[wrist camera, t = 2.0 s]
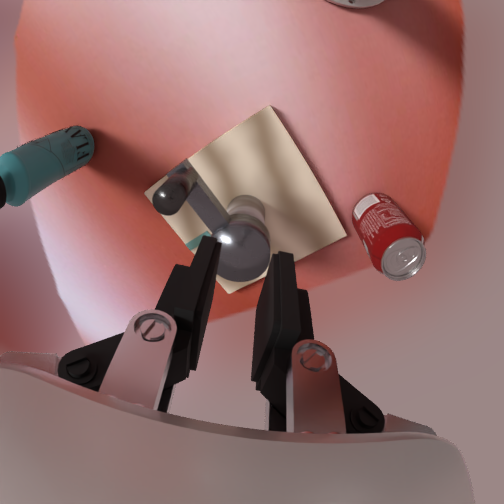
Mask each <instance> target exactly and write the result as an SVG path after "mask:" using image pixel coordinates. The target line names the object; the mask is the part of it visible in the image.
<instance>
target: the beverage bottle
mask: <svg viewBox="0 0 504 504" xmlns="http://www.w3.org/2000/svg"><path fill="white" fill-rule="evenodd" d="M49 134H50V133H49ZM44 136H45V137H42V138H40V139H37V140H34V141H33V140H31V141H29V142H30V143H27V144H26V143H25V144H24V145H21V146H20V147H18V148H17V149H15V150H12V151H10V152H7V153H5V154H3V155H2V156H1V157H0V208H2V207H3V206H4V205H5V203H7V204H9V205H11V206H20V205H22V204H23V203H25V201H27V200H28V199H30V198H31V197H33V196H34V195H36V194H37V193H39V192H40V191H42V190H43V189H45V188H46V187H48V186H49V185H51V184H52V183H54V182H56V181H57V180H59V179H61V178H63V177H65V176H66V175H68V174H70V173H72V172H73V171H76V170H77V169H79V168H81V167H82V166H84V165H86V164H87V163H89V160H90V159H91V157H92V155H93V152H94V140H93V137H92V135H91V134H90V132H89V131H88V130H87V129H86V128H84V127H81V126H78V125H77V126H73V127H69V128H67V129H65V128H64V130H63V129H62V130H59V131H56V132H53V134H52V133H51V134H50V135H48V134H47V135H44ZM82 168H83V167H82Z"/></svg>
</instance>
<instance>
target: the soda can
mask: <svg viewBox="0 0 504 504" xmlns="http://www.w3.org/2000/svg"><path fill="white" fill-rule="evenodd" d="M352 223H353V225H354V228H355V229H356V231H357V233H358V235H359V237H360V239H361V241H362V243H363V245H364V247H365V249H366V251H367V253H368V255H369V257H370V259H371V261H372V263H373V265H374V267H375V268H376V269H377V270H378V271H379V272H380V273H382V274H384V275H385V276H386V277H388V278H389V279H391V280H395V281H401V280H405V279H408V278H410V277H412V276H413V275H415V274H416V273H417V272H418V271H419V270H420V269H421V267H422V266H423V264H424V261H425V258H426V249H425V246H424V238H423V236H422V234H421V232H420V231H419V230H418V228H417V227H416V226H415V225H414V224H413V223H412V221H411V220H410V219H409V218H408V217H407V216H406V215H405V213H404V212H403V211H402V210H401V209H400V208H399V207H398V206H397V205H396V204H395V202H394V201H393V200H392V199H391V198H390V197H389V196H387V195H385V194H382V193H371V194H368V195H366V196H364V197H362V198H361V199H360V200H359V201H358V202H357V203H356V205H355V207H354V209H353V212H352Z"/></svg>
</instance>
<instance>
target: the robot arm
mask: <svg viewBox="0 0 504 504" xmlns="http://www.w3.org/2000/svg"><path fill="white" fill-rule="evenodd" d="M327 1H328V2H331V3H334V4H336V5H339V6H344V7H348V8H368V7H373V6H376V5H378V4H380V3H382V2H383V1H385V0H327ZM349 1H351V2H352V4H351V3H349ZM221 247H222V243H221V242H217V238H215V237H210V236H206V235H203V236H202V239H201V241H200V244H199V246H198V249H197V251H196V253H195V256H194V258H193V261H192V263H191V266H190V267H188V266H184V265H179V264H176V265H175V266H174V268H173V270H172V273H171V275H170V277H169V279H168V281H167V283H166V286H165V288H164V290H163V292H162V294H161V297H160V299H159V301H158V303H157V306H156V308H155V310H153V309H152V310H144V311H141V312H139V313H137V314H136V315H134V316H133V318H132V319H131V320H130V322H129V324H128V326H127V328H126V330H125V332H123V333H121V334H118V335H115V336H112V337H110V338H107V339H104V340H101V341H98V342H96V343H93V344H90V345H87V346H84V347H81V348H78V349H76V350H73V351H71V352H69V353H67V354H65V356H63V357H58V356H57V354H47V353H27V352H26V353H25V352H6V353H4V354H2V355H1V356H0V504H475V500H474V495H473V490H472V484H471V479H470V475H469V472H468V468H467V465H466V462H465V460H464V457H463V455H462V453H461V451H460V450H459V448H458V447H457V446H456V445H455V444H454V443H452V442H450V441H448V440H447V439H444V438H442V437H439V436H437V435H436V433H435V432H434V431H433V430H432V428H430V427H428V426H425V425H422V424H418V423H415V422H412V421H409V420H406V419H403V418H400V417H397V416H394V415H391V414H387V415H386V416H385V415H383V413H382V411H381V410H380V409H379V408H378V407H377V406H376V405H375V404H374V403H373V402H372V401H370V400H369V399H368V398H367V397H366V396H364V395H363V394H362V393H361V392H360V391H358V390H357V389H356V388H355V387H353V386H352V385H351V384H350V383H349V382H348V381H346V380H345V379H344V378H343V377H342V376H340V375H339V374H338V368H337V362H336V358H335V355H334V353H333V352H332V350H331V349H330V348H329V347H328V346H327V345H325V344H323V343H322V342H320V341H316V340H314V334H313V327H312V319H311V311H310V304H309V297H308V292H307V290H303V289H298V288H297V282H296V273H295V264H294V255H293V253H288V252H283V251H278V254H274V253H273V254H272V257H271V260H270V263H269V267H268V270H267V274H266V277H265V281H264V284H263V287H262V291H261V294H260V297H259V301H258V304H257V309H256V318H255V332H254V347H253V361H252V373H251V381H254V382H256V390H259V391H261V394H262V395H263V396H264V397H265V398H266V399H267V400H266V409H265V430H257V429H249V428H242V427H235V426H228V425H222V424H216V423H210V422H205V421H200V420H195V419H190V418H186V417H181V416H177V415H173V414H169V411H170V406H171V403H172V399H173V395H174V390H175V386H176V383H179V382H181V381H183V380H185V379H186V377H187V378H188V377H189V373H190V370H195V371H196V368H197V363H198V359H199V355H200V351H201V346H202V342H203V338H204V333H205V329H206V325H207V321H208V317H209V313H210V308H211V304H212V300H213V294H214V288H215V282H216V276H217V270H218V264H219V258H220V252H221Z"/></svg>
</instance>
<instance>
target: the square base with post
mask: <svg viewBox="0 0 504 504" xmlns="http://www.w3.org/2000/svg"><path fill="white" fill-rule="evenodd" d="M188 160H189V162H190V163H191V164H192V166H193V167H194V168H195V170H196V171H197V172H198V174H199V175H200V176H201V178H202V179H203V180H204V182H205V183H206V184H207V186H208V187H209V188H210V190H211V191H212V192H213V194H214V195H215V196H216V198H217V199H218V200H219V202H220V203H221V204H222V206H223V207H224V208H225V210H226V211H227V212H228V214H229V215H231V214H237V213H243V214H248V215H251V216H254V217H256V218H258V219H259V220H260V221H261V222H263V223H264V225H265V226H266V227H267V229H268V231H269V234H270V239H271V245H270V260H271V257H272V254H273V253H274V254H278V251H283V252H288V253H293V255H294V262H295V261H297V260H300V259H302V258H304V257H306V256H308V255H309V254H311V253H313V252H315V251H317V250H319V249H321V248H323V247H325V246H327V245H329V244H331V243H333V242H335V241H337V240H339V239H341V238H343V237H345V236H347V235H346V232H345V230H344V228H343V226H342V224H341V223H340V221H339V219H338V217H337V215H336V213H335V211H334V209H333V208H332V206H331V204H330V202H329V200H328V199H327V197H326V195H325V193H324V191H323V190H322V188H321V186H320V184H319V183H318V181H317V179H316V177H315V176H314V174H313V172H312V171H311V169H310V167H309V165H308V164H307V162H306V160H305V159H304V157H303V156H302V154H301V152H300V151H299V149H298V147H297V146H296V144H295V143H294V141H293V139H292V138H291V136H290V135H289V133H288V132H287V130H286V128H285V127H284V125H283V124H282V122H281V121H280V119H279V118H278V116H277V115H276V113H275V112H274V110H273V109H272V107H271V106H270V105H269V106H267V107H266V108H264V109H262V110H261V111H259V112H257V113H256V114H254V115H252V116H251V117H249V118H248V119H246V120H244V121H243V122H241V123H240V124H238V125H237V126H235V127H233V128H232V129H230V130H229V131H227V132H226V133H224V134H223V135H221V136H220V137H218V138H217V139H215V140H214V141H212V142H211V143H210V144H208V145H207V146H205V147H204V148H202V149H201V150H199V151H198V152H197V153H195V154H194V155H192V156H191V157H190V158H188ZM167 179H168V176H167V175H166V176H164V177H163V178H162V179H160V180H159V181H158V182H157V183H155V184H154V185H153V186H151V187H150V188H149V189H148V190H147V191H146V192H145V193H144V194H145V195H146V196H147V198H148V199H149V200H150V201H151V203H152V204H153V202H152V197H153V194H154V193H155V191H156V190H157V189H158V188H159V187H160V186H161V185H162V184H163V183H164V182H165V181H166V180H167ZM161 215H162V216H163V217H164V219H165V220H166V221H167V222H168V224H169V225H170V226H171V227H172V228H173V230H174V231H175V232H176V233H177V234H178V236H179V237H180V238H181V239H182V240H183V242H184V243H185V245H186V246H187V247H188V248H189V250H190V251H192V252H193V253H194V255H195V253H196V251H197V249H198V246H199V244H200V241H201V239H202V236H203V235H206V236H210V237H211V234H212V232H211V231H210V230H209V229H208V227H207V226H206V225H205V224H204V222H203V221H202V220H201V219H200V217H199V216H198V215H197V213H196V212H195V211H194V210H193V208H192V207H191V206H190V205H189V203H188V202H187V201H185V202H184V204H183V205H182V207H181V208H180V210H179V211H178V212H177V213H176V214H174V215H170V216H166V215H163V214H161ZM268 267H269V266H268ZM267 270H268V268H267V269H266V271H265V272H264V273H263V274H262V275H261V276H259V277H258V278H256V279H254V280H251V281H247V282H234V281H229V280H226V279H224V278H222V277H220V276H219V275H217V276H216V280H217V281H218V282H219V284H220V285H221V286H222V287H223V288H224V289H225V290H226V291H227V293H228V294H230V293H232V292H234V291H236V290H238V289H240V288H242V287H244V286H246V285H248V284H251V283H253V282H255V281H257V280H259V279H261V278H263V277H265V276H266V274H267Z"/></svg>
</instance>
